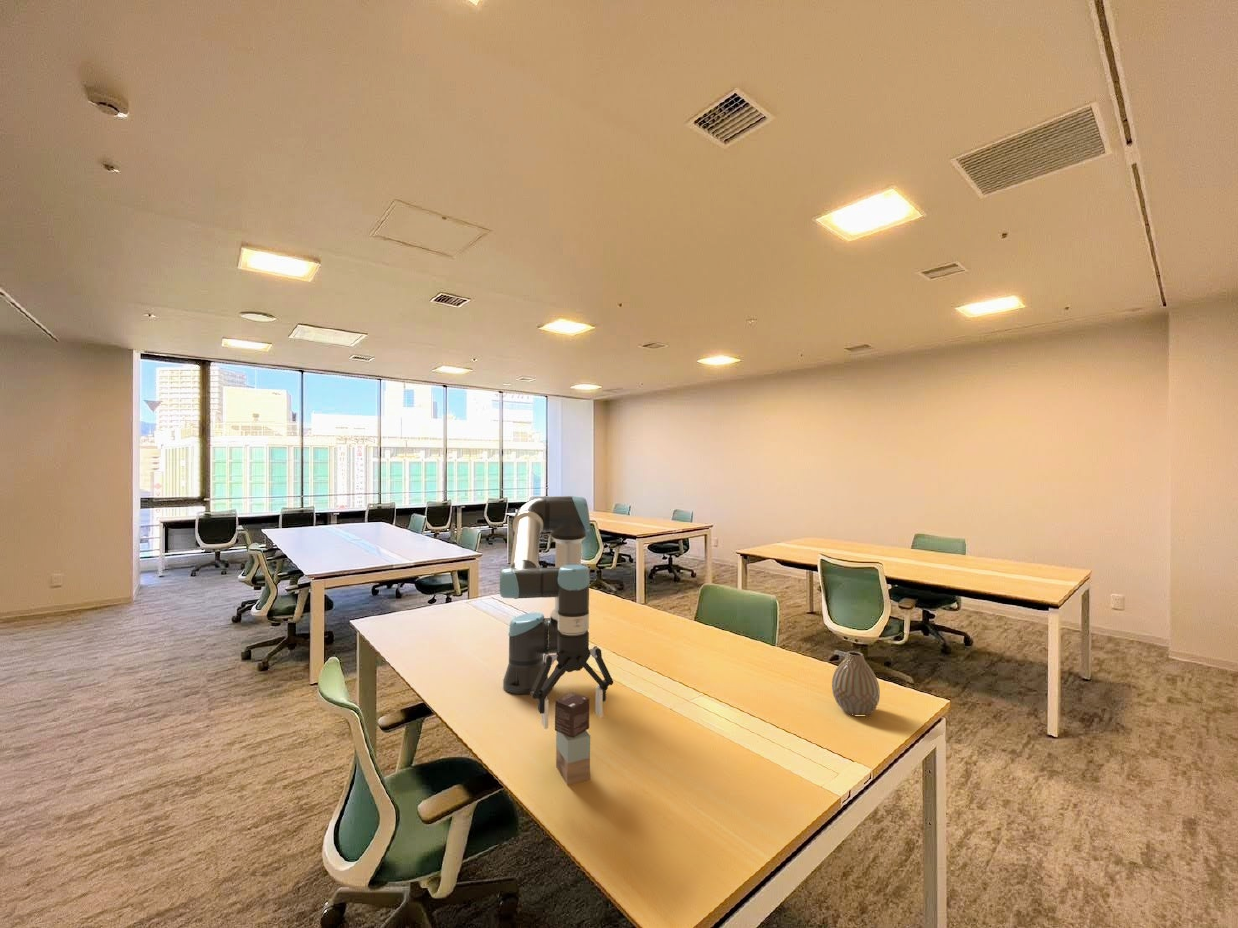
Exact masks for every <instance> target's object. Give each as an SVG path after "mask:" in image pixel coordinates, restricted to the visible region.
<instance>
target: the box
mask: <svg viewBox="0 0 1238 928" xmlns="http://www.w3.org/2000/svg"><path fill="white" fill-rule="evenodd" d="M554 701H555V704H554V706H555V707H554V730H555V732H556V731H557V732H559V733H562V734H564V735H566V736H568V737H570V738H574V737H575V736H577V735H579V734H580V733H582V732H584V731H587V730H589V729H590V698H589V697H586V696H584V695H581V694H579V693H576V692H573V691H571V692H569V693H567V694H565V695H563V696H561V697H559V698H557V699H555V700H554Z"/></svg>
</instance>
